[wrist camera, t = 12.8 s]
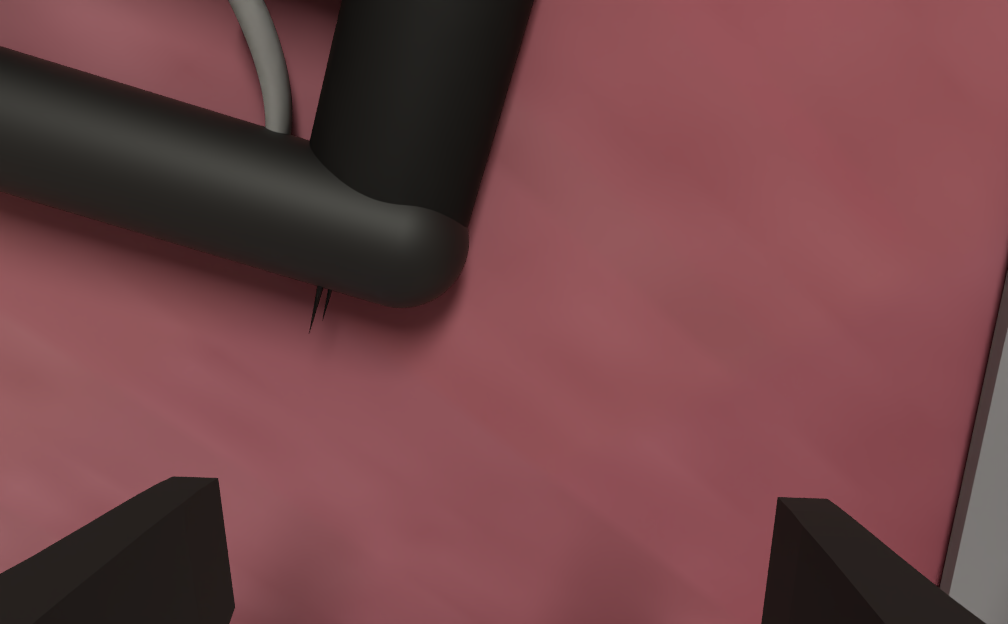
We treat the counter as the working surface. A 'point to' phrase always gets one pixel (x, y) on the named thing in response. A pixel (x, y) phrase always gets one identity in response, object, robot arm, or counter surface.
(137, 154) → the door handle
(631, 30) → the counter surface
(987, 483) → the mat
